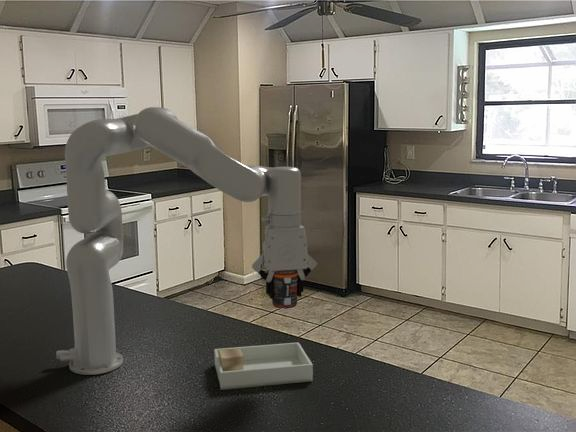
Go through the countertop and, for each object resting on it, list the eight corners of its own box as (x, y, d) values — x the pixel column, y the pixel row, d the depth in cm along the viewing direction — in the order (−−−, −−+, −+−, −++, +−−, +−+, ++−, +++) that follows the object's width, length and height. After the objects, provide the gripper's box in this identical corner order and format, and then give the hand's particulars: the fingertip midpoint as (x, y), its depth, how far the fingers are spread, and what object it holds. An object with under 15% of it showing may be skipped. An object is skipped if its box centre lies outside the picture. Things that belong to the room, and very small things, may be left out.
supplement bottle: (294, 310, 142) (294, 262, 140) (269, 308, 143) (269, 261, 141) (299, 302, 148) (299, 256, 146) (275, 301, 149) (274, 255, 147)
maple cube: (222, 378, 142) (221, 358, 142) (219, 370, 147) (219, 350, 146) (243, 376, 144) (243, 356, 143) (240, 368, 148) (240, 348, 147)
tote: (220, 389, 138) (220, 372, 138) (214, 364, 152) (214, 349, 151) (312, 381, 143) (312, 364, 142) (298, 357, 156) (298, 342, 156)
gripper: (249, 225, 137) (250, 303, 140) (325, 222, 140) (324, 298, 143) (245, 219, 144) (246, 293, 147) (316, 216, 148) (316, 289, 151)
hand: (284, 295), depth 145 cm, fingers closed on supplement bottle, 6 cm apart
